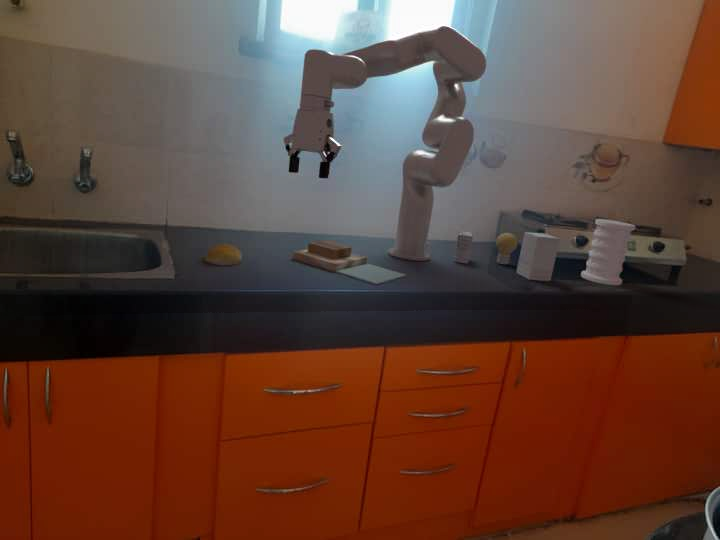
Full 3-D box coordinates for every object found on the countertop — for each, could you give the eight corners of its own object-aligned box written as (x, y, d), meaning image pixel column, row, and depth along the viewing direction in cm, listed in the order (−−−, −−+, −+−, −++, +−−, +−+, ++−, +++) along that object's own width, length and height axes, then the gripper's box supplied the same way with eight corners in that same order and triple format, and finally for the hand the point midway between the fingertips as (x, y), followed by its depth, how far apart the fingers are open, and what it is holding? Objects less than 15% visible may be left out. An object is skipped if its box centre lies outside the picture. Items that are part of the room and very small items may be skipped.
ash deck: (325, 253, 142) (326, 246, 142) (366, 264, 135) (366, 257, 134) (292, 258, 131) (293, 251, 130) (334, 271, 124) (335, 264, 123)
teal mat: (367, 265, 135) (367, 263, 135) (405, 276, 128) (406, 274, 128) (336, 272, 123) (336, 270, 123) (376, 284, 117) (376, 283, 117)
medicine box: (468, 264, 152) (473, 236, 149) (453, 262, 152) (458, 234, 150) (467, 259, 159) (472, 232, 157) (453, 256, 160) (458, 230, 158)
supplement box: (551, 281, 143) (561, 238, 140) (528, 280, 141) (537, 236, 138) (537, 274, 150) (546, 233, 147) (515, 272, 148) (523, 231, 145)
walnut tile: (324, 249, 138) (325, 240, 137) (350, 256, 133) (351, 247, 133) (307, 251, 132) (308, 242, 132) (334, 259, 127) (335, 250, 127)
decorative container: (609, 277, 160) (624, 221, 155) (628, 287, 149) (644, 228, 144) (574, 272, 159) (587, 217, 155) (590, 282, 148) (605, 223, 144)
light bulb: (499, 260, 163) (505, 230, 160) (516, 265, 158) (523, 235, 156) (488, 261, 159) (494, 231, 156) (505, 267, 154) (511, 235, 152)
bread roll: (201, 264, 116) (202, 247, 115) (211, 255, 125) (212, 240, 124) (237, 268, 117) (238, 251, 116) (244, 259, 125) (245, 244, 124)
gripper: (352, 109, 121) (344, 180, 125) (297, 104, 130) (291, 170, 134) (335, 105, 115) (326, 180, 119) (278, 100, 123) (272, 170, 128)
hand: (308, 175), depth 126 cm, fingers open, 9 cm apart
